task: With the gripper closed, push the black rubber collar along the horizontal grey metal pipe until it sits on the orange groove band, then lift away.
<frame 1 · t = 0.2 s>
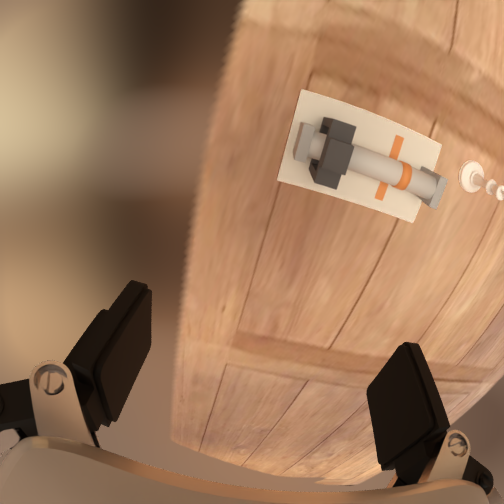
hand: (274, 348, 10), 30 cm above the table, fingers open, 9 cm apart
chess piece: (469, 175, 33), on the table
rail: (363, 157, 34), on the table
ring: (331, 150, 29), point 6 cm above the table, slide at 0.0 cm
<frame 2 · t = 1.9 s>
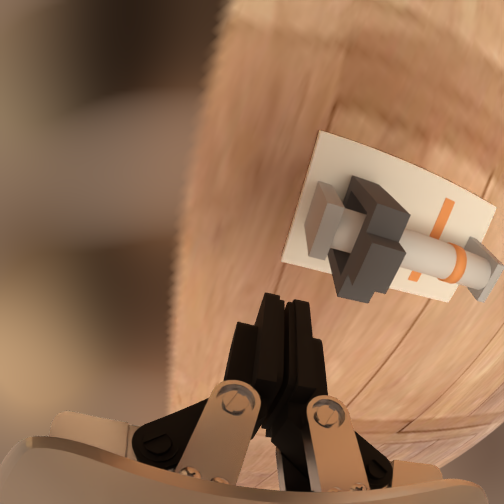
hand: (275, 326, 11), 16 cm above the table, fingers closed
rail: (400, 227, 25), on the table
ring: (363, 239, 19), point 6 cm above the table, slide at 0.0 cm
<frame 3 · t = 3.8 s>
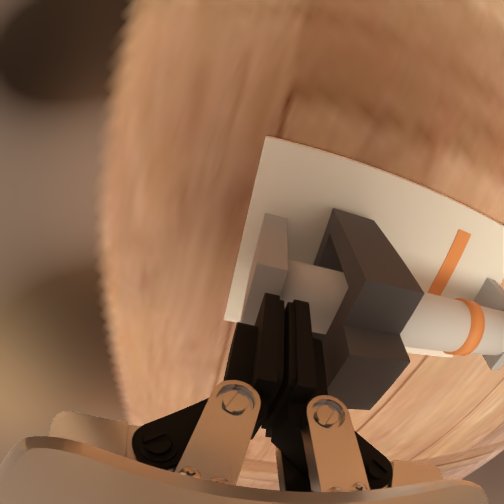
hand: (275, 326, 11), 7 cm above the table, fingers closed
rail: (391, 271, 18), on the table
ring: (345, 314, 12), point 6 cm above the table, slide at 0.9 cm, touching gripper
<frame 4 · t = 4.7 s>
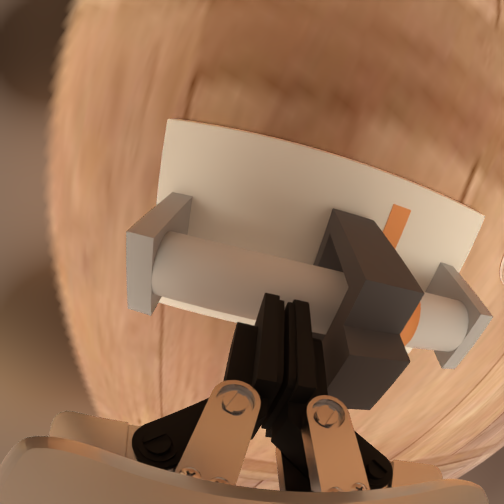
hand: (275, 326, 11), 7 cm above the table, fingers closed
rail: (319, 253, 18), on the table
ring: (345, 314, 12), point 6 cm above the table, slide at 6.1 cm, touching gripper
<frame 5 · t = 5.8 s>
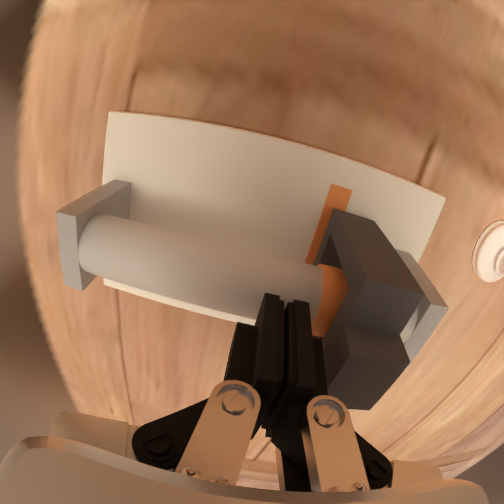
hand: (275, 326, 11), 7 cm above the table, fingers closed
chess piece: (493, 249, 16), on the table
rail: (258, 237, 17), on the table
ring: (345, 314, 13), point 6 cm above the table, slide at 10.0 cm, touching gripper
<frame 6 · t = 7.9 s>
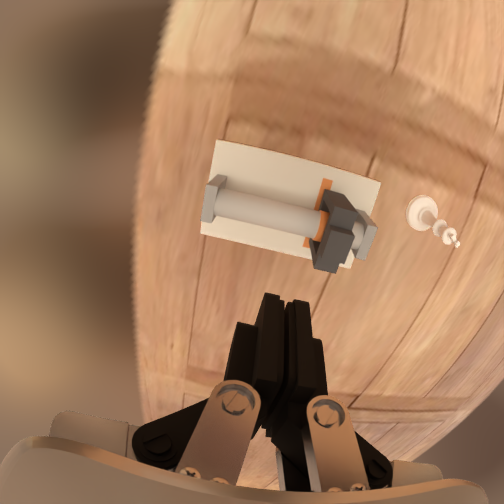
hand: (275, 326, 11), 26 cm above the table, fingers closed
chess piece: (420, 212, 34), on the table
rail: (289, 204, 35), on the table
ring: (331, 231, 30), point 6 cm above the table, slide at 10.0 cm
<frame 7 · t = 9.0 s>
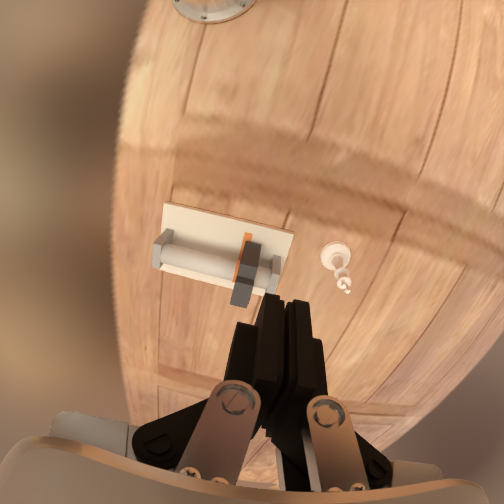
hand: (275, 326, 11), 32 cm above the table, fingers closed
chess piece: (335, 254, 45), on the table
rail: (221, 250, 46), on the table
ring: (245, 276, 41), point 6 cm above the table, slide at 10.0 cm
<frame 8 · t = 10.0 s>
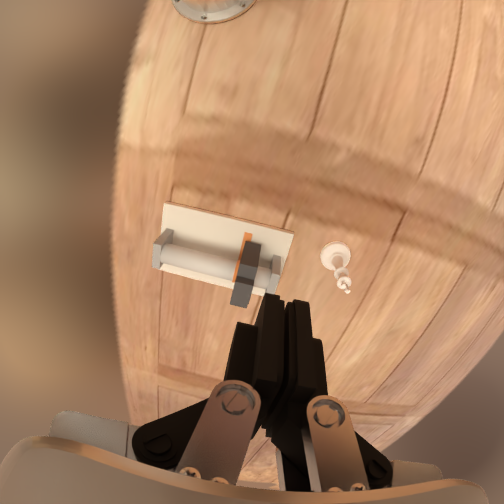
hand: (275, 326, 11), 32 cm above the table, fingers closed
chess piece: (335, 254, 45), on the table
rail: (221, 250, 46), on the table
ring: (245, 276, 41), point 6 cm above the table, slide at 10.0 cm
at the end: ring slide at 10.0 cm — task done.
